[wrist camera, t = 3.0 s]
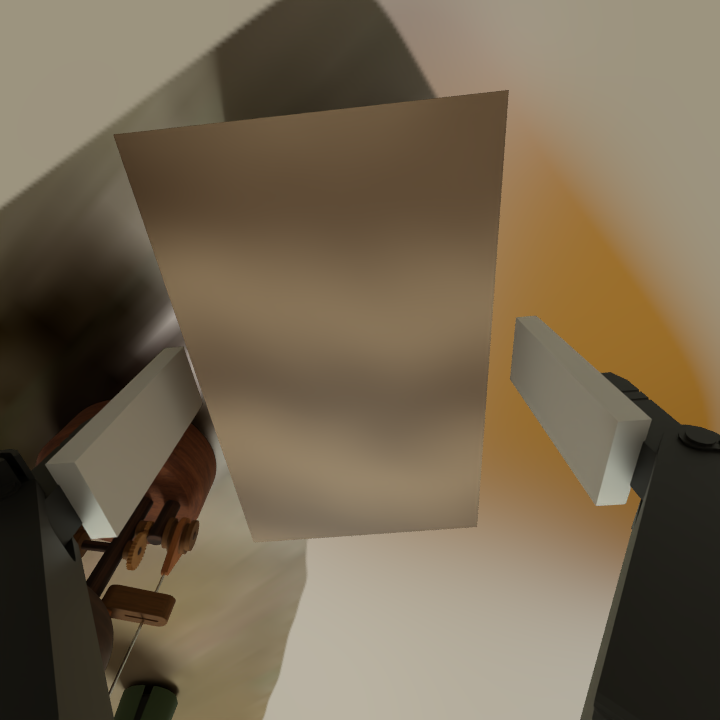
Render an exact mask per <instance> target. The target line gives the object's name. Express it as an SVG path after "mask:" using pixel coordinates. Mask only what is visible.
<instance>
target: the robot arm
mask: <svg viewBox="0 0 720 720" xmlns="http://www.w3.org/2000/svg"><path fill="white" fill-rule="evenodd" d="M510 380H511V381H512V383H513V384H514V386H515V387H516V389H517V390H518V391H519V393H520V394H521V396H522V397H523V399H524V400H525V402H526V403H527V405H528V406H529V408H530V409H531V411H532V412H533V414H534V415H535V417H536V418H537V420H538V421H539V423H540V424H541V425H542V427H543V428H544V430H545V431H546V433H547V434H548V436H549V437H550V439H551V440H552V442H553V443H554V445H555V446H556V448H557V449H558V451H559V452H560V453H561V455H562V456H563V458H564V459H565V461H566V462H567V464H568V465H569V467H570V468H571V470H572V471H573V473H574V474H575V476H576V477H577V479H578V480H579V481H580V483H581V484H582V486H583V487H584V489H585V490H586V492H587V493H588V494H589V496H590V498H591V499H592V501H593V502H594V504H595V505H596V506H602V505H617V504H626V501H627V498H628V495H629V491H630V488H631V487H632V488H633V490H634V491H635V492H636V493H637V494H638V496H639V497H640V498H641V501H640V504H639V507H638V510H637V513H636V516H635V519H634V522H633V525H632V528H631V529H632V532H631V536H630V540H629V543H628V547H627V551H626V554H625V558H624V562H623V565H622V569H621V573H620V576H619V580H618V584H617V587H616V591H615V595H614V598H613V602H612V606H611V609H610V613H609V617H608V620H607V624H606V627H605V632H604V635H603V638H602V642H601V646H600V650H599V653H598V657H597V661H596V664H595V668H594V671H593V675H592V679H591V683H590V686H589V690H588V693H587V697H586V701H585V704H584V708H583V712H582V715H581V719H580V720H720V435H719V434H717V433H715V432H713V431H710V430H707V429H705V428H702V427H697V426H691V425H681V424H680V423H678V422H677V421H676V420H674V419H673V418H672V417H671V416H670V415H669V414H667V413H666V412H665V411H664V410H663V409H661V408H660V407H659V406H658V405H657V404H655V403H654V402H653V401H652V400H649V399H648V397H647V396H646V395H645V394H643V393H642V392H639V389H637V388H636V387H635V386H634V385H632V384H631V383H630V382H629V381H628V380H626V379H624V378H622V377H620V376H617V375H615V374H613V373H611V372H608V373H600V372H599V371H597V370H596V369H595V368H594V367H593V366H592V365H591V364H590V363H588V362H587V361H586V360H585V359H584V358H583V357H582V356H581V355H580V354H578V353H577V352H576V351H575V350H574V349H573V348H572V347H571V346H569V345H568V344H567V343H566V342H565V341H564V340H563V339H562V338H561V337H559V336H558V335H557V334H556V333H555V332H554V331H553V330H552V329H551V328H549V327H548V326H547V325H546V324H545V323H544V322H543V321H542V320H540V319H539V318H538V317H537V316H528V317H518V318H516V324H515V334H514V345H513V355H512V366H511V376H510ZM202 404H203V403H202V400H201V397H200V394H199V391H198V388H197V385H196V382H195V379H194V376H193V373H192V371H191V368H190V365H189V362H188V359H187V356H186V353H185V350H184V347H174V348H165V349H163V350H162V351H161V352H160V353H159V354H158V355H157V356H156V357H155V358H154V359H153V360H152V361H151V362H150V363H149V364H148V365H147V366H146V367H145V368H144V369H143V370H142V371H141V372H140V373H139V374H138V375H137V376H136V377H135V378H134V379H133V380H132V381H131V382H129V383H128V384H127V385H126V386H125V387H124V388H123V389H122V390H121V391H120V392H119V393H118V394H117V395H116V396H115V397H114V398H113V399H112V400H111V401H110V402H109V403H108V404H107V405H106V406H105V407H104V408H103V409H102V410H101V411H100V412H99V413H98V414H97V415H95V416H93V417H91V418H90V419H88V420H87V421H85V422H83V423H82V424H80V425H79V426H78V427H77V428H76V429H75V430H74V431H73V432H72V433H71V434H70V435H69V437H67V438H66V439H64V440H63V441H62V442H61V443H60V446H57V447H56V448H55V449H54V450H53V451H52V452H51V453H50V454H49V455H48V456H47V457H46V458H44V459H43V460H42V461H41V462H40V463H39V464H38V465H37V466H36V467H35V468H34V469H33V470H32V471H30V469H29V468H28V466H27V464H26V463H25V461H24V460H23V458H22V457H21V455H20V454H19V452H18V451H17V450H12V449H7V450H0V720H114V717H113V712H112V707H111V702H110V697H109V692H108V687H107V682H106V677H105V672H104V667H103V663H102V658H101V653H100V648H99V643H98V638H97V633H96V628H95V623H94V618H93V613H92V608H91V604H90V599H89V594H88V589H87V584H86V579H85V574H84V569H83V564H82V559H81V554H80V550H79V545H78V543H77V542H76V540H75V539H74V537H73V535H74V534H75V533H76V531H77V530H78V529H79V527H80V526H81V525H83V527H84V528H85V530H86V532H87V533H88V535H89V536H90V538H91V539H96V538H112V537H118V535H119V534H120V532H121V531H122V529H123V528H124V526H125V524H126V523H127V521H128V520H129V518H130V517H131V515H132V513H133V512H134V510H135V509H136V507H137V506H138V504H139V503H140V501H141V499H142V498H143V496H144V495H145V493H146V492H147V490H148V489H149V487H150V485H151V484H152V482H153V481H154V479H155V478H156V476H157V475H158V473H159V471H160V470H161V468H162V467H163V465H164V464H165V462H166V461H167V459H168V457H169V456H170V454H171V453H172V451H173V450H174V448H175V446H176V445H177V443H178V442H179V440H180V439H181V437H182V436H183V434H184V432H185V431H186V429H187V428H188V426H189V425H190V423H191V422H192V420H193V418H194V417H195V415H196V414H197V412H198V411H199V409H200V408H201V406H202Z"/></svg>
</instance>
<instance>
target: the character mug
mask: <svg viewBox="0 0 720 720" xmlns="http://www.w3.org/2000/svg"><path fill="white" fill-rule="evenodd" d="M144 688H145V685H137V686H131V687H130V688H128V689H126V690H124V692H123V695H122V697H121V700H120V703H119V706H118V708H117V711H116V714H115V717H114V720H171V719H172V717H173V714H174V712H175V709H176V707H177V704H178V702H177V698H176V695H175V694H173V693H172V692H171V691H169V690H167V689H164V688H161V687H158V686H154V687H153V689H152V692H151V694H143V691H144Z"/></svg>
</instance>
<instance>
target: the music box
mask: <svg viewBox="0 0 720 720" xmlns="http://www.w3.org/2000/svg"><path fill="white" fill-rule="evenodd" d="M110 401H111V400H107V401H103V402H99V403H96V404H93V405H91V406H89V407H87V408H86V409H84V410H83V411H81V412H80V413H79V414H78V415H77V416H76V417H75V418H74V419H72V420H71V421H70V422H69V423H68V424H67V425H66V426H65V427H64V428H63V429H62V430H61V431H60V432H59V433H58V434H57V435H56V436H54V437H53V438H52V439H51V440H50V441H49V442H48V443H47V444H46V445H45V446H44V447H43V449H42V450H41V452H40V453H39V455H38V458H37V461H36V466H37V465H38V464H39V463H40V462H41V461H42V460H43V459H44V458H46V457H47V456H48V455H49V454H50V453H51V452H52V451H53V450H54V449H55V448H56V447H57V446H60V443H61V442H62V441H63V440H64V439H66V438H67V437H69V435H70V434H71V433H72V432H73V431H74V430H75V429H76V428H77V427H78V426H79V425H80V424H82V423H83V422H85V421H87V420H88V419H90V418H91V417H93V416H95V415H97V414H98V413H99V412H100V411H101V410H102V409H103V408H104V407H105V406H106V405H107V404H108V403H109V402H110ZM215 475H216V460H215V456H214V453H213V450H212V448H211V446H210V444H209V443H208V441H207V440H206V438H205V437H204V436H203V434H202V433H201V432H200V431H199V430H198V429H197V428H196V427H195V426H194V425H193V424H191V423H190V425H189V426H188V428H187V429H186V431H185V432H184V434H183V436H182V437H181V439H180V440H179V442H178V443H177V445H176V446H175V448H174V450H173V451H172V453H171V454H170V456H169V457H168V459H167V461H166V462H165V464H164V465H163V467H162V468H161V470H160V471H159V473H158V475H157V476H156V478H155V479H154V481H153V482H152V484H151V485H150V487H149V489H148V490H147V492H146V493H145V495H144V496H143V498H142V499H141V501H140V503H139V504H138V506H137V507H136V509H135V510H134V512H133V513H132V515H131V517H130V518H129V520H128V521H127V523H126V524H125V526H124V528H123V529H122V531H121V532H120V534H119V535H118V537H112V538H98V539H101V540H104V541H108V542H111V543H107V542H98V541H91V538H90V536H89V535H88V533H87V532H86V530H85V528H84V527H83V525H81V526H80V527H79V529H78V530H77V531H76V533H75V534H74V535H73V537H74V539H75V540H76V542H77V543H78V545H79V550H80V554H81V558H82V557H83V556H84V554H85V553H86V551H87V550H91V551H99V552H104V554H103V556H102V557H101V559H100V560H99V562H98V564H97V565H96V567H95V568H94V570H93V572H92V573H91V575H90V576H89V578H88V579H87V581H86V584H87V589H88V594H89V599H90V604H91V608H92V613H93V618H94V623H95V628H96V633H97V638H98V643H99V648H100V653H101V658H102V663H103V667H104V671H105V669H106V667H107V664H108V662H109V659H110V656H111V652H112V647H113V625H112V621H111V618H115V619H120V620H126V621H131V622H136V623H140V625H139V627H138V630H137V632H136V634H135V636H134V638H133V641H132V643H131V645H130V647H129V649H128V651H127V654H126V656H125V658H124V660H123V662H122V665H121V667H120V669H119V671H118V673H117V675H116V678H115V680H114V682H113V684H112V686H111V689H110V691H109V697H110V695H111V693H112V691H113V689H114V687H115V684H116V682H117V680H118V678H119V676H120V673H121V671H122V669H123V667H124V665H125V662H126V660H127V658H128V656H129V653H130V651H131V649H132V647H133V645H134V642H135V640H136V638H137V636H138V634H139V631H140V629H141V627H142V625H143V624H147V625H153V626H164V625H166V624H167V621H168V619H169V617H170V614H171V612H172V609H173V607H174V604H175V601H176V600H175V598H174V597H173V596H171V595H167V594H162V593H157V592H158V589H159V587H160V585H161V583H162V580H163V578H164V576H165V575H169V573H170V572H171V570H172V569H173V567H174V566H175V564H176V563H177V561H178V560H179V558H180V557H181V555H182V554H186V553H187V551H191V550H192V548H193V546H194V544H195V541H196V538H197V534H198V530H199V521H198V520H196V519H197V518H198V516H199V514H200V511H201V509H202V507H203V505H204V502H205V500H206V498H207V495H208V493H209V491H210V488H211V486H212V484H213V481H214V479H215ZM146 544H153V545H160V544H161V546H162V548H167V555H166V558H165V561H164V564H163V567H162V570H161V575H162V577H161V579H160V582H159V584H158V586H157V588H156V590H155V592H152V591H147V590H142V589H137V588H133V587H128V586H123V585H111V586H110V587H109V588H108V590H107V592H106V593H105V595H104V597H103V599H102V600H101V599H100V598H99V597H100V596H101V594H102V592H103V591H104V589H105V587H106V585H107V584H108V582H109V580H110V578H111V577H112V575H113V573H114V571H115V570H116V568H117V566H118V565H119V563H120V561H121V559H122V558H123V559H126V560H127V563H126V565H127V566H126V567H127V569H128V570H135V568H137V566H139V563H140V561H141V560H142V557H143V554H144V553H145V550H146V546H147V545H146Z"/></svg>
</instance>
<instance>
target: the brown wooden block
mask: <svg viewBox="0 0 720 720" xmlns="http://www.w3.org/2000/svg"><path fill="white" fill-rule="evenodd" d="M508 91H509V90H505V91H496V92H487V93H479V94H470V95H461V96H453V97H443V98H434V99H425V100H416V101H408V102H399V103H390V104H381V105H372V106H363V107H354V108H345V109H336V110H328V111H319V112H310V113H301V114H292V115H283V116H274V117H265V118H257V119H248V120H239V121H230V122H221V123H212V124H203V125H194V126H185V127H177V128H168V129H159V130H150V131H141V132H132V133H123V134H114V138H115V141H116V144H117V147H118V150H119V153H120V155H121V158H122V161H123V164H124V167H125V170H126V173H127V176H128V179H129V182H130V184H131V187H132V190H133V193H134V196H135V199H136V202H137V205H138V208H139V211H140V213H141V216H142V219H143V222H144V225H145V228H146V231H147V234H148V237H149V240H150V242H151V245H152V248H153V251H154V254H155V257H156V260H157V263H158V266H159V269H160V271H161V274H162V277H163V280H164V283H165V286H166V289H167V292H168V295H169V297H170V300H171V303H172V306H173V309H174V312H175V315H176V318H177V321H178V324H179V326H180V329H181V332H182V335H183V338H184V341H185V344H186V347H187V350H188V353H189V355H190V358H191V361H192V364H193V367H194V370H195V373H196V376H197V379H198V382H199V384H200V387H201V390H202V393H203V396H204V399H205V402H206V405H207V408H208V411H209V413H210V416H211V419H212V422H213V425H214V428H215V431H216V434H217V437H218V439H219V442H220V445H221V448H222V451H223V454H224V457H225V460H226V463H227V466H228V468H229V471H230V474H231V477H232V480H233V483H234V486H235V489H236V492H237V495H238V497H239V500H240V503H241V506H242V509H243V512H244V515H245V518H246V521H247V524H248V526H249V529H250V532H251V535H252V538H253V541H254V542H268V541H282V540H296V539H310V538H325V537H339V536H352V535H367V534H382V533H396V532H411V531H425V530H439V529H454V528H468V527H477V519H478V505H479V491H480V478H481V464H482V450H483V436H484V423H485V409H486V395H487V381H488V367H489V354H490V340H491V325H492V311H493V299H494V284H495V271H496V257H497V244H498V228H499V216H500V202H501V187H502V173H503V161H504V147H505V133H506V120H507V119H506V118H507V105H508Z"/></svg>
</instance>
